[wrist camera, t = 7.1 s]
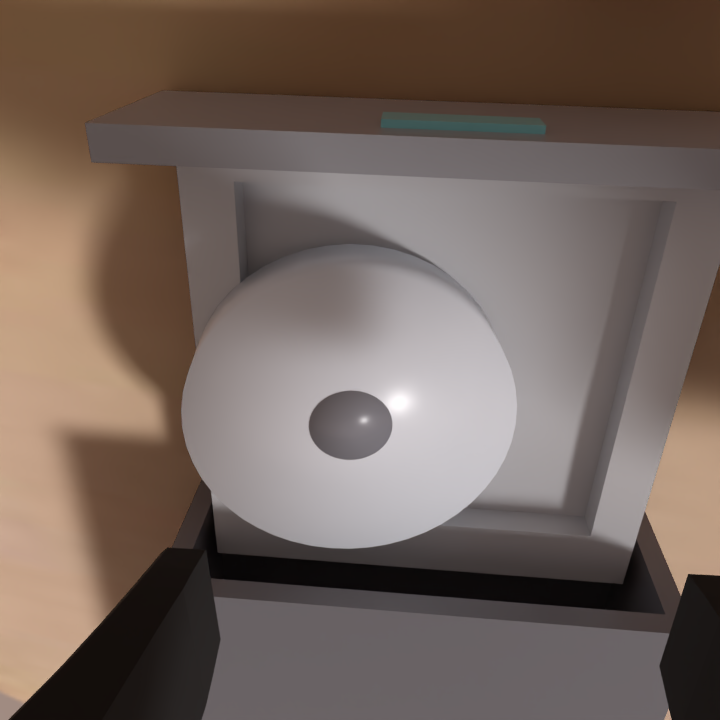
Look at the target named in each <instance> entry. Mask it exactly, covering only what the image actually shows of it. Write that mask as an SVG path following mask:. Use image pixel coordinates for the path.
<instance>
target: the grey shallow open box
mask: <svg viewBox="0 0 720 720" xmlns="http://www.w3.org/2000/svg"><path fill="white" fill-rule="evenodd" d="M85 126H86V132H87V138H88V144H89V150H90V156H91V162H96V163H118V164H141V165H163V166H176V168H177V177H178V186H179V196H180V205H181V214H182V224H183V233H184V242H185V252H186V261H187V271H188V280H189V289H190V299H191V308H192V317H193V327H194V336H195V345H196V349H197V346H198V343H199V340H200V338H201V336H202V334H203V331H204V329H205V327H206V324H207V322H208V321H209V319H210V318H211V316H212V315H213V313H214V311H215V310H216V308H217V307H218V305H219V304H220V303H221V302H222V301H223V300H224V299H225V297H226V296H227V295H228V294H229V293H230V292H231V291H232V290H233V289H234V288H235V287H236V286H237V285H239V284H240V283H241V282H242V281H243V280H244V279H245V278H247V277H248V276H250V275H251V274H253V273H254V272H256V271H257V270H259V269H260V268H262V267H264V266H265V265H267V264H270V263H272V262H274V261H276V260H278V259H280V258H282V257H284V256H287V255H290V254H293V253H296V252H300V251H303V250H306V249H311V248H316V247H322V246H327V245H342V244H359V245H373V246H378V247H384V248H389V249H394V250H397V251H400V252H403V253H407V254H410V255H413V256H415V257H418V258H420V259H422V260H424V261H426V262H428V263H430V264H432V265H434V266H436V267H437V268H439V269H440V270H442V271H443V272H445V273H446V274H448V275H449V276H451V277H452V278H453V279H455V280H456V281H457V282H458V283H459V284H460V285H461V286H462V287H464V288H465V289H466V290H467V291H468V292H469V294H470V295H471V296H472V297H473V298H474V299H475V301H476V302H477V303H478V304H479V306H480V307H481V309H482V310H483V312H484V314H485V315H486V317H487V318H488V320H489V322H490V324H491V326H492V328H493V330H494V333H495V335H496V337H497V339H498V341H499V343H500V345H501V347H502V349H503V352H504V354H505V356H506V359H507V361H508V363H509V366H510V368H511V371H512V375H513V379H514V383H515V387H516V398H517V414H516V425H515V430H514V434H513V438H512V442H511V445H510V447H509V450H508V452H507V455H506V457H505V459H504V461H503V463H502V465H501V467H500V468H499V470H498V472H497V474H496V475H495V476H494V478H493V479H492V480H491V482H490V483H489V484H488V486H487V487H486V488H485V489H484V490H483V491H482V493H481V494H480V495H479V496H478V497H477V498H476V499H475V500H474V501H473V502H472V503H470V504H469V505H468V506H467V507H465V508H464V509H463V510H462V511H461V512H459V513H458V514H457V515H455V516H453V517H452V518H450V519H449V520H447V521H446V522H444V523H443V524H441V525H439V526H437V527H435V528H433V529H431V530H429V531H427V532H425V533H422V534H419V535H417V536H414V537H411V538H409V539H406V540H402V541H398V542H395V543H391V544H386V545H380V546H374V547H367V548H353V549H343V548H325V547H317V546H310V545H306V544H301V543H297V542H292V541H289V540H287V539H284V538H281V537H278V536H275V535H272V534H270V533H268V532H266V531H264V530H261V529H259V528H257V527H255V526H254V525H252V524H250V523H249V522H247V521H245V520H244V519H242V518H241V517H239V516H238V515H237V514H235V513H234V512H233V511H232V510H230V509H229V508H228V507H226V506H225V505H224V504H223V503H222V502H221V501H220V500H219V499H218V498H217V497H216V496H215V495H214V494H213V493H212V491H211V495H212V505H213V514H214V523H215V533H216V542H217V551H218V553H227V554H240V555H253V556H266V557H279V558H292V559H305V560H318V561H331V562H344V563H357V564H370V565H383V566H396V567H409V568H421V569H434V570H447V571H460V572H473V573H486V574H499V575H512V576H525V577H538V578H551V579H564V580H577V581H590V582H603V583H616V584H623V581H624V578H625V575H626V571H627V568H628V565H629V561H630V558H631V555H632V552H633V548H634V545H635V542H636V538H637V535H638V532H639V528H640V525H641V522H642V519H643V515H644V512H645V509H646V505H647V502H648V499H649V495H650V492H651V489H652V486H653V482H654V479H655V476H656V472H657V469H658V466H659V462H660V459H661V456H662V453H663V449H664V446H665V443H666V439H667V436H668V433H669V429H670V426H671V423H672V420H673V416H674V413H675V410H676V406H677V403H678V400H679V396H680V393H681V390H682V387H683V383H684V380H685V377H686V373H687V370H688V367H689V363H690V360H691V357H692V354H693V350H694V347H695V344H696V340H697V337H698V334H699V330H700V327H701V324H702V321H703V317H704V314H705V311H706V307H707V304H708V301H709V297H710V294H711V291H712V288H713V284H714V281H715V278H716V274H717V271H718V268H719V265H720V112H712V111H686V110H660V109H633V108H607V107H581V106H555V105H529V104H503V103H477V102H451V101H425V100H399V99H373V98H347V97H321V96H294V95H268V94H242V93H216V92H190V91H164V90H162V91H160V92H158V93H155V94H153V95H150V96H148V97H146V98H143V99H141V100H138V101H136V102H134V103H131V104H129V105H126V106H124V107H122V108H119V109H117V110H114V111H112V112H110V113H107V114H105V115H103V116H100V117H98V118H95V119H93V120H91V121H88V122H86V123H85Z"/></svg>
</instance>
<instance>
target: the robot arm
mask: <svg viewBox="0 0 720 720" xmlns="http://www.w3.org/2000/svg"><path fill="white" fill-rule="evenodd" d="M220 640H221V638H220V632H219V626H218V620H217V614H216V607H215V601H214V595H213V589H212V583H211V577H210V571H209V565H208V559H207V552H206V550H205V549H185V548H167V549H165V550H164V551H163V552H162V553H161V554H160V555H159V556H158V558H157V559H156V560H155V561H154V562H153V563H152V565H151V566H150V567H149V568H148V569H147V571H146V572H145V573H144V574H143V575H142V576H141V578H140V579H139V580H138V581H137V582H136V583H135V585H134V586H133V587H132V588H131V589H130V590H129V592H128V593H127V594H126V595H125V596H124V597H123V599H122V600H121V601H120V602H119V603H118V604H117V605H116V607H115V608H114V609H113V610H112V611H111V612H110V613H109V615H108V616H107V617H106V618H105V619H104V620H103V621H102V623H101V624H100V625H99V626H98V627H97V628H96V629H95V630H94V631H93V632H92V633H91V635H90V636H89V637H88V638H87V639H86V640H85V641H84V642H83V643H82V644H81V645H80V647H79V648H78V649H77V650H76V651H75V652H74V653H73V654H72V655H71V656H70V657H69V658H68V660H67V661H66V662H65V663H64V664H63V665H62V666H61V667H60V668H59V669H58V670H57V671H56V672H55V673H54V674H53V675H52V676H51V677H50V678H49V679H48V680H47V682H46V683H45V684H44V685H43V686H42V687H41V688H40V689H39V690H38V691H37V692H36V693H35V694H34V695H33V696H32V697H31V698H30V699H29V700H28V701H27V702H26V703H25V704H24V705H23V706H22V707H21V708H20V709H19V710H18V711H17V712H16V713H15V714H14V715H13V716H12V717H11V718H10V719H9V720H202V717H203V714H204V711H205V707H206V704H207V699H208V695H209V691H210V686H211V682H212V678H213V673H214V668H215V664H216V659H217V654H218V650H219V645H220ZM659 667H660V671H661V676H662V680H663V685H664V689H665V693H666V698H667V702H668V707H669V711H670V714H671V718H672V720H720V576H714V575H695V574H688V577H687V580H686V583H685V586H684V589H683V592H682V596H681V599H680V602H679V605H678V608H677V611H676V615H675V618H674V621H673V624H672V627H671V630H670V634H669V637H668V640H667V643H666V646H665V649H664V653H663V656H662V659H661V662H660V665H659Z"/></svg>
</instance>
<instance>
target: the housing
mask: <svg viewBox="0 0 720 720" xmlns="http://www.w3.org/2000/svg"><path fill="white" fill-rule="evenodd" d="M172 548H185V549H205V550H206V552H207V559H208V565H209V571H210V577H211V583H212V589H213V595H214V601H215V607H216V614H217V620H218V626H219V632H220V638H221V640H220V645H219V650H218V654H217V659H216V664H215V668H214V673H213V678H212V682H211V686H210V691H209V695H208V699H207V704H206V707H205V711H204V714H203V717H202V720H664V718H665V716H666V713H667V711H668V708H669V707H668V702H667V698H666V693H665V689H664V685H663V680H662V676H661V671H660V667H659V665H660V662H661V659H662V656H663V653H664V649H665V646H666V643H667V640H668V637H669V634H670V630H671V627H672V624H673V621H674V618H675V615H676V611H677V608H678V605H679V602H680V599H681V596H680V593H679V591H678V588H677V586H676V584H675V581H674V579H673V577H672V574H671V572H670V570H669V567H668V565H667V563H666V560H665V558H664V555H663V553H662V551H661V548H660V546H659V544H658V541H657V539H656V537H655V534H654V532H653V529H652V527H651V525H650V522H649V520H648V518H647V515H646V513H645V512H644V515H643V519H642V522H641V525H640V528H639V532H638V535H637V538H636V542H635V545H634V548H633V552H632V555H631V558H630V561H629V565H628V568H627V571H626V575H625V578H624V581H623V584H616V583H603V582H590V581H577V580H564V579H551V578H538V577H525V576H512V575H499V574H486V573H473V572H460V571H447V570H434V569H421V568H409V567H396V566H383V565H370V564H357V563H344V562H331V561H318V560H305V559H292V558H279V557H266V556H253V555H240V554H227V553H218V551H217V542H216V533H215V523H214V514H213V505H212V495H211V490H210V489H209V487H208V486H207V485H206V484H205V482H204V481H203V480H201V482H200V485H199V487H198V489H197V492H196V494H195V496H194V498H193V501H192V503H191V505H190V507H189V510H188V512H187V514H186V517H185V519H184V521H183V523H182V526H181V528H180V530H179V532H178V535H177V537H176V539H175V541H174V544H173V546H172Z"/></svg>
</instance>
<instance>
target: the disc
mask: <svg viewBox="0 0 720 720" xmlns="http://www.w3.org/2000/svg"><path fill="white" fill-rule="evenodd" d="M516 414H517V398H516V387H515V383H514V379H513V375H512V371H511V368H510V366H509V363H508V361H507V359H506V356H505V354H504V352H503V349H502V347H501V345H500V343H499V341H498V339H497V337H496V335H495V333H494V330H493V328H492V326H491V324H490V322H489V320H488V318H487V317H486V315H485V314H484V312H483V310H482V309H481V307H480V306H479V304H478V303H477V302H476V301H475V299H474V298H473V297H472V296H471V295H470V294H469V292H468V291H467V290H466V289H465V288H464V287H462V286H461V285H460V284H459V283H458V282H457V281H456V280H455V279H453V278H452V277H451V276H449V275H448V274H446V273H445V272H443V271H442V270H440V269H439V268H437V267H436V266H434V265H432V264H430V263H428V262H426V261H424V260H422V259H420V258H418V257H415V256H413V255H410V254H407V253H403V252H400V251H397V250H394V249H389V248H384V247H378V246H373V245H359V244H342V245H327V246H322V247H316V248H311V249H306V250H303V251H300V252H296V253H293V254H290V255H287V256H284V257H282V258H280V259H278V260H276V261H274V262H272V263H270V264H267V265H265V266H264V267H262V268H260V269H259V270H257V271H256V272H254V273H253V274H251V275H250V276H248V277H247V278H245V279H244V280H243V281H242V282H241V283H240V284H239V285H237V286H236V287H235V288H234V289H233V290H232V291H231V292H230V293H229V294H228V295H227V296H226V297H225V299H224V300H223V301H222V302H221V303H220V304H219V305H218V307H217V308H216V310H215V311H214V313H213V315H212V316H211V318H210V319H209V321H208V322H207V324H206V327H205V329H204V331H203V334H202V336H201V338H200V340H199V343H198V346H197V349H196V352H195V354H194V357H193V360H192V363H191V366H190V368H189V371H188V375H187V378H186V382H185V386H184V390H183V397H182V407H181V415H182V429H183V434H184V438H185V443H186V447H187V449H188V452H189V454H190V457H191V460H192V462H193V464H194V466H195V468H196V469H197V471H198V473H199V475H200V476H201V478H202V480H203V481H204V482H205V484H206V485H207V486H208V487H209V489H210V490H211V491H212V493H213V494H214V495H215V496H216V497H217V498H218V499H219V500H220V501H221V502H222V503H223V504H224V505H225V506H226V507H228V508H229V509H230V510H232V511H233V512H234V513H235V514H237V515H238V516H239V517H241V518H242V519H244V520H245V521H247V522H249V523H250V524H252V525H254V526H255V527H257V528H259V529H261V530H264V531H266V532H268V533H270V534H272V535H275V536H278V537H281V538H284V539H287V540H289V541H292V542H297V543H301V544H306V545H310V546H317V547H325V548H343V549H353V548H367V547H374V546H380V545H386V544H391V543H395V542H398V541H402V540H406V539H409V538H411V537H414V536H417V535H419V534H422V533H425V532H427V531H429V530H431V529H433V528H435V527H437V526H439V525H441V524H443V523H444V522H446V521H447V520H449V519H450V518H452V517H453V516H455V515H457V514H458V513H459V512H461V511H462V510H463V509H464V508H465V507H467V506H468V505H469V504H470V503H472V502H473V501H474V500H475V499H476V498H477V497H478V496H479V495H480V494H481V493H482V491H483V490H484V489H485V488H486V487H487V486H488V484H489V483H490V482H491V480H492V479H493V478H494V476H495V475H496V474H497V472H498V470H499V468H500V467H501V465H502V463H503V461H504V459H505V457H506V455H507V452H508V450H509V447H510V445H511V442H512V438H513V434H514V430H515V425H516Z"/></svg>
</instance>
